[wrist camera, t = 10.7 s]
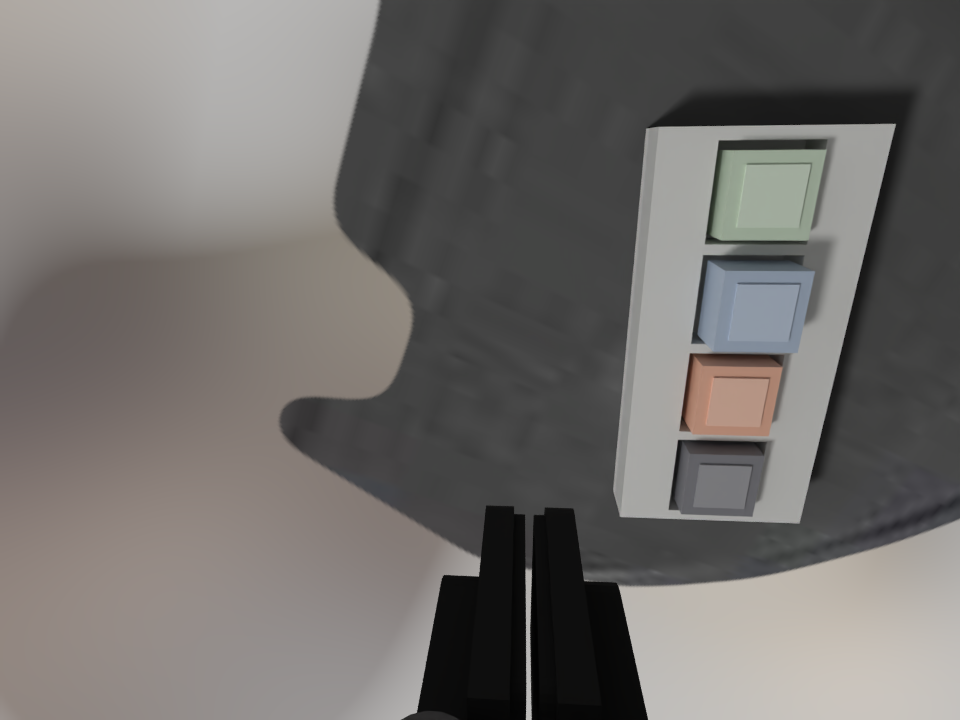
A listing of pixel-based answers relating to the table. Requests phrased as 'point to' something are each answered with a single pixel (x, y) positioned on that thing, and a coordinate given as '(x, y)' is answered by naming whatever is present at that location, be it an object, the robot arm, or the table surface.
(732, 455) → the key charcoal
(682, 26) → the table surface
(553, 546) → the robot arm
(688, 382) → the key terracotta
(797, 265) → the key slate
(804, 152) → the key sage
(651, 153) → the keypad
